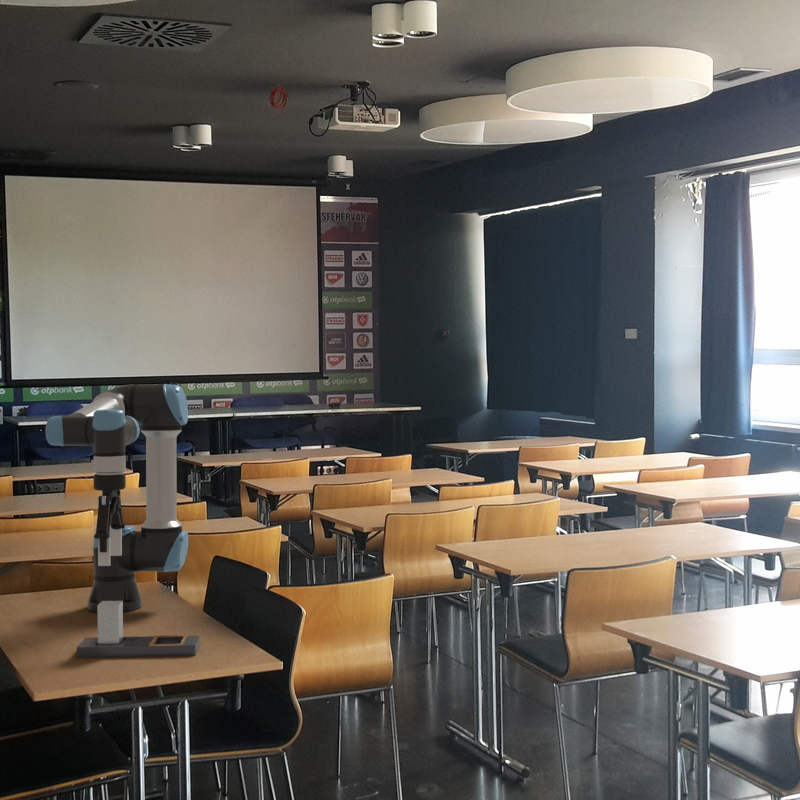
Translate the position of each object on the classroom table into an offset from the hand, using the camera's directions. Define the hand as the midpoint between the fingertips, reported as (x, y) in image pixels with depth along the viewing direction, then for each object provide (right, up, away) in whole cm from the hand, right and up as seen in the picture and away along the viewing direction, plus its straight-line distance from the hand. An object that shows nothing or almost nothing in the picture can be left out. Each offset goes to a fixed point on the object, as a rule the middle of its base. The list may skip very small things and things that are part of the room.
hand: (110, 560), depth 251 cm
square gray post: (0, -22, +1) cm, 22 cm away
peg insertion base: (+7, -22, +1) cm, 23 cm away
